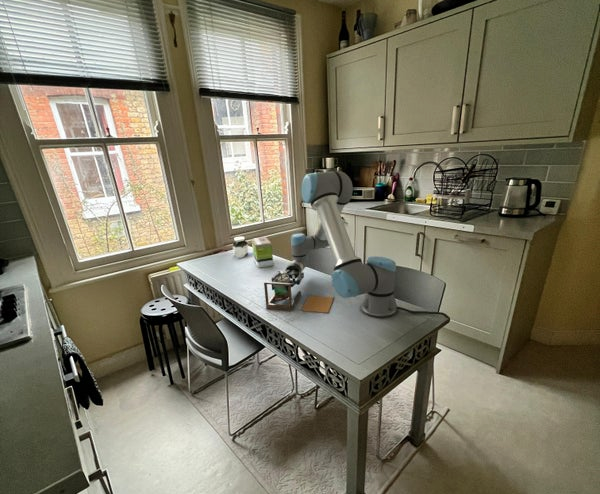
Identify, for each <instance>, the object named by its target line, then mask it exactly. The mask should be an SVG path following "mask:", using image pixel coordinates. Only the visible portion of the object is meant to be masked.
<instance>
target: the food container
mask: <svg viewBox="0 0 600 494" xmlns="http://www.w3.org/2000/svg"><path fill="white" fill-rule="evenodd" d="M290 280H291V279H290V277H289V275H287V274H285V273H280V276H279V277H278V278H277V280H276V281H275V282H276V283H289V282H290ZM273 287H274V290H273V291H274V293H275V302H283V301H286V300H289V293H288V291H287V287H286V286H285V285H273Z"/></svg>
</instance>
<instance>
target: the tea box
mask: <svg viewBox="0 0 600 494" xmlns="http://www.w3.org/2000/svg"><path fill="white" fill-rule="evenodd" d="M251 246H252V254H253V260H254V263H255V264H256V266H257V268H264V267H271V266H274V256H273V246H272V242H271V241H270V239H268V237H267V236H263V237H256V238H251Z"/></svg>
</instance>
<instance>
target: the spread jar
mask: <svg viewBox="0 0 600 494" xmlns="http://www.w3.org/2000/svg"><path fill="white" fill-rule="evenodd" d="M233 239H234V241H233V242H232V252H233V254H234V255H235V257H237V258H239V259H241V258H244V257H245V256H247V254H248V253H249V251H250V250H249V249H250V248H249V243H248V241H246V240H245V239H246V238H245V236H236V237H234V238H233Z"/></svg>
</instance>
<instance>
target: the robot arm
mask: <svg viewBox="0 0 600 494" xmlns="http://www.w3.org/2000/svg"><path fill="white" fill-rule="evenodd" d="M353 189H354V188H353V182H352V180H351V178H350V176H348V174H346V173H345V172H343V171H341V170H333V171H322V172H312V173H307V174H306V175H305V176H304V177H303V179H302V183H301V198H302V200H303V202H304V203H305V204H310V206H311V209H312V210H313V211H316V213H317V215H318V219H319V224H318V226H317V229H316V231H315V233H314V234H313V235H308V236H306V234H305V233H294V234H292V235H291V238H290V246H291V262H290V263H289V264H288V265H287V266H286V267H285V270H283V271H280V270H278V271H277V272H276V273H275V274H274V275H273V276H272V277H271V282H275V281H276V280H277V278H278V277H279V276H280V273H285V274H287V275H289V277H290V282H289V283H290V284H291V288H294V287H295V286H296V285H297V286H300V285H301V283H302V281H303V279H304V278H305V272H303V271H304V270H305V269H306V267H307V266H308V263H309V257H308V256H307V252H308V251H313V250H314V251H315V250H320V249H325V248H328V247H329V249H330V252H331V255H332V258H333V260H334V266H333V272H332V273H331V285H332V287H333V289H334V291H335V292H336V293H337V295H339V296H341V297H342V298H345V299H348V298H356V297H358V296H360V295H363V298H362V299H361V303H360V310H361V312H362V313H363V314H365V315H367V316H369V317H373V318H389V317H392V316H394V315H395V314H396V313H397V311H398V310H401V311H403V312H407V313H410V314H420V315H421V314H422V315H423V314H424V315H425V314H427V315H441V316H443V317H445V318H446V319H450V316H449V315H448V314H447V313H444V312H441V311H430V310H429V311H427V310H411V309H408V308H405V307H401V306H398V304H397V301H396V298H395V285H396V284H395V283H396V275H397V274H396V273H397V264H396V262H395V261H394V259H391V258H388V257H384V256H376V255H375V256H369V257H368V258H367V259H366V263H364V262H363V260H362V258H361V257H359V256H357V255H356V252H355V250H354V247H353V245H352V242H351V239H350V235H349V234H348V231H347V229H346V226H345V223H344V219H343V217H342V215H341V214H342V212H343V210H344V208H345V206H347V205H348V204H349V203H350V201H351V199H352V196H353V192H354V191H353ZM286 287H287V291H288V286H286ZM271 290H272V291H274V287H273V285H271Z"/></svg>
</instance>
